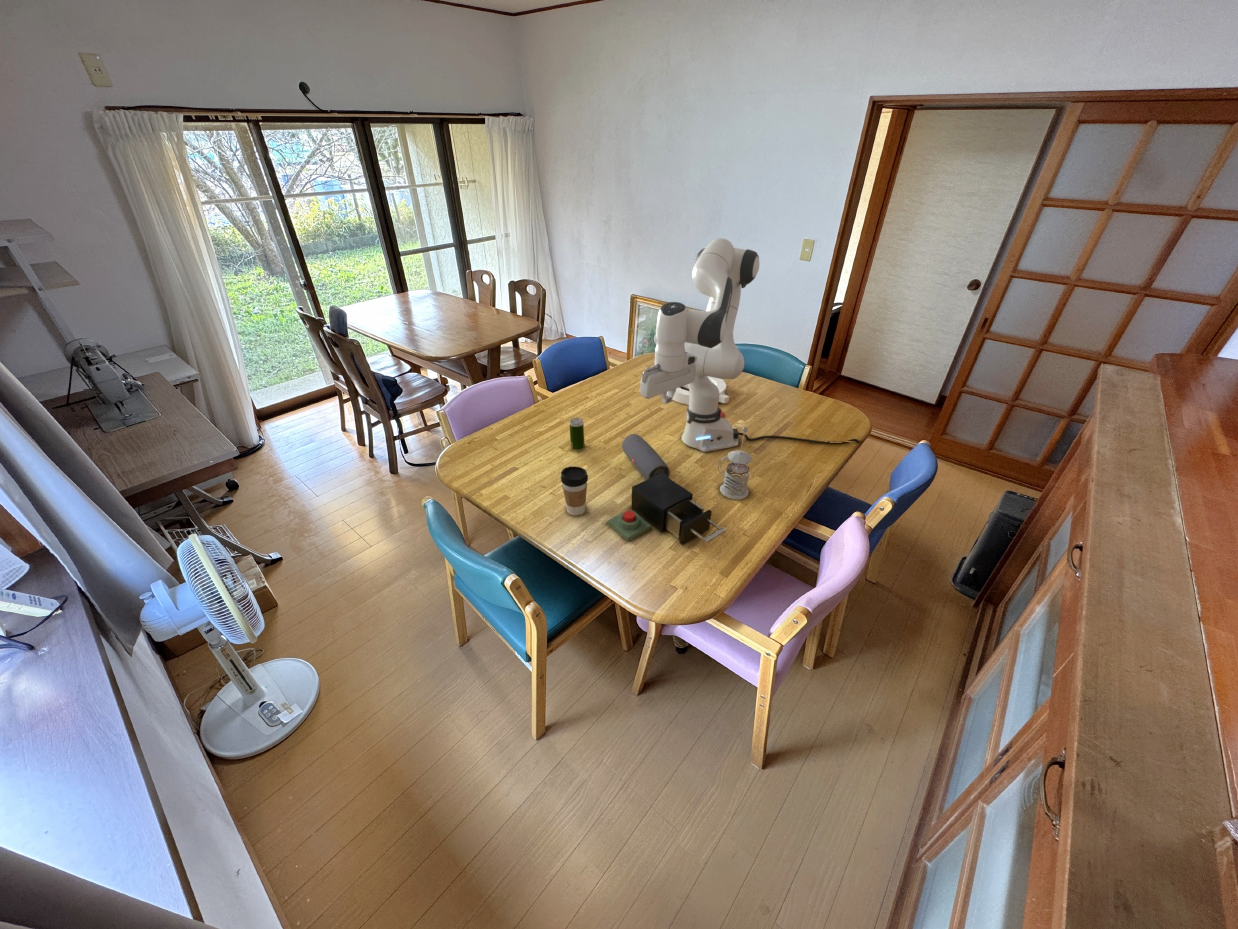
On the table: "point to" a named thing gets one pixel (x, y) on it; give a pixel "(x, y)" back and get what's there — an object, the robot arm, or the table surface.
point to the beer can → (577, 434)
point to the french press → (735, 485)
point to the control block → (629, 526)
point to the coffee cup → (574, 489)
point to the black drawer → (690, 522)
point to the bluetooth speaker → (644, 457)
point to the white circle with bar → (683, 395)
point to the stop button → (629, 516)
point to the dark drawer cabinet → (657, 498)
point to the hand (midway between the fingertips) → (666, 402)
